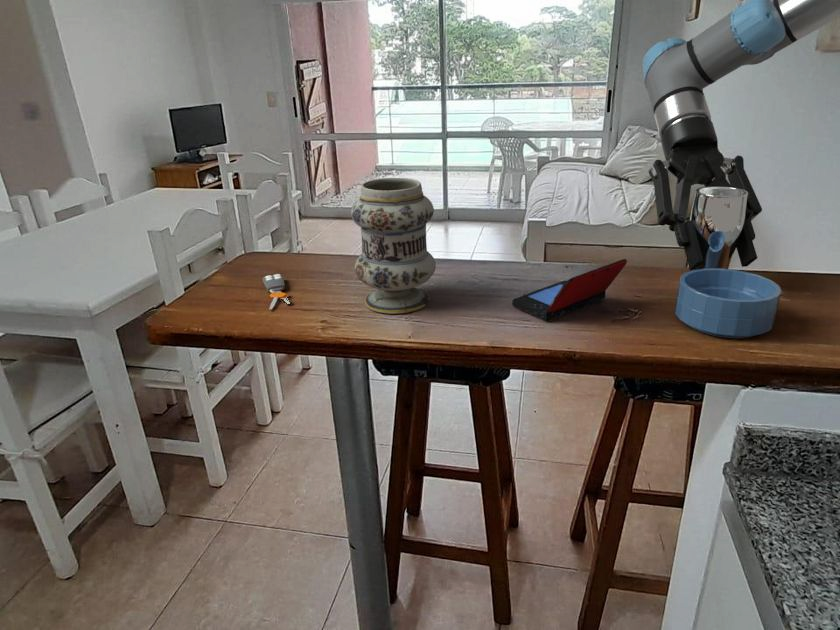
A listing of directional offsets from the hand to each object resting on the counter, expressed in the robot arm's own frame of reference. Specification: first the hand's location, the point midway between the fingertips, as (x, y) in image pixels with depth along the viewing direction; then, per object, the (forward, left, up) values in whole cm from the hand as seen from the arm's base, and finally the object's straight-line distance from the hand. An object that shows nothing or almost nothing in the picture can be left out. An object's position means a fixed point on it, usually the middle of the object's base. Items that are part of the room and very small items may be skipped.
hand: (723, 263), depth 81 cm
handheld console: (+21, -4, -6) cm, 23 cm away
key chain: (+62, -23, -6) cm, 67 cm away
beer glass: (-1, -3, -6) cm, 7 cm away
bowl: (+4, +7, -5) cm, 10 cm away
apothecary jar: (+44, -14, -6) cm, 47 cm away
